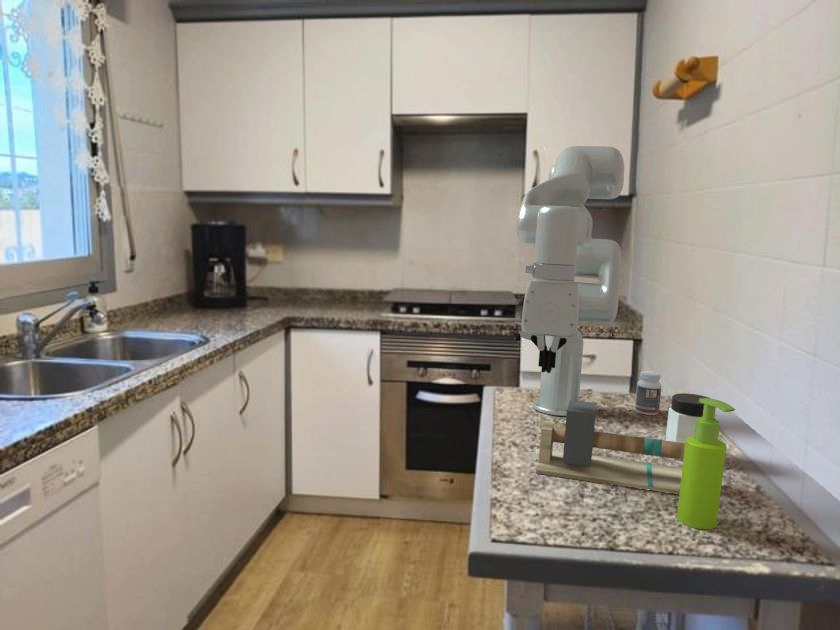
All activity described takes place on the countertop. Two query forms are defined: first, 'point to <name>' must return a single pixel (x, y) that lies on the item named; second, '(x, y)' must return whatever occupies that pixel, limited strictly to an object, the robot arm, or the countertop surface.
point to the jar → (683, 416)
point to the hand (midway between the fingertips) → (546, 371)
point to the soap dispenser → (703, 470)
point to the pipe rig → (614, 461)
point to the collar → (579, 433)
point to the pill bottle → (648, 393)
